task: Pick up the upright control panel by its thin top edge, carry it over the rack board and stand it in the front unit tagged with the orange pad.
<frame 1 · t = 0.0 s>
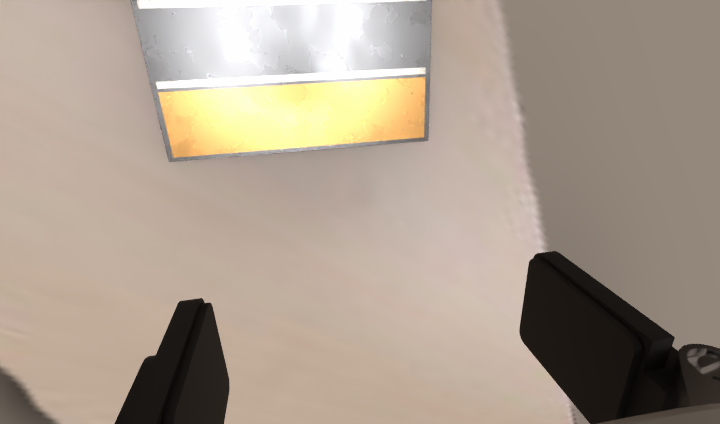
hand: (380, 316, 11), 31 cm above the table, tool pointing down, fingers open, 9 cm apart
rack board: (297, 76, 38), on the table
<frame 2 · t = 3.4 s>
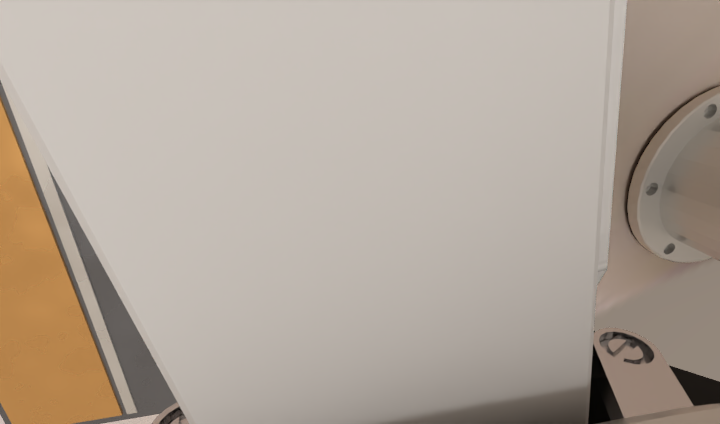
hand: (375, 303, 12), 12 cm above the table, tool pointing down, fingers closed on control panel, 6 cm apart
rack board: (78, 226, 21), on the table
control panel: (329, 183, 23), on the table, touching gripper
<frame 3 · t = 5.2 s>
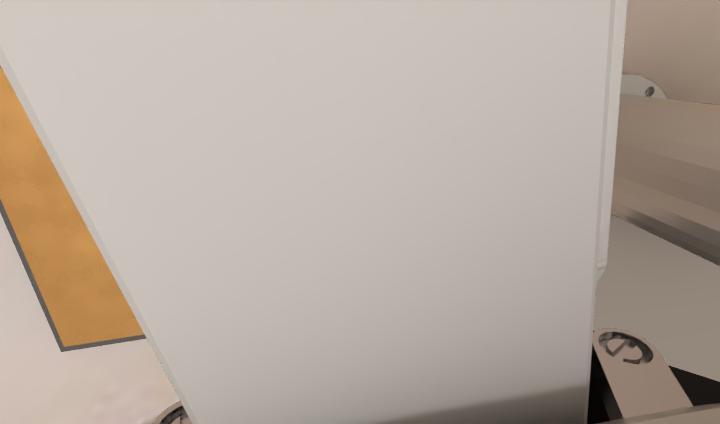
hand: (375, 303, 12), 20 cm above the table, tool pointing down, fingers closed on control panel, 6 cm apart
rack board: (115, 182, 28), on the table
control panel: (328, 183, 23), point 8 cm above the table, touching gripper
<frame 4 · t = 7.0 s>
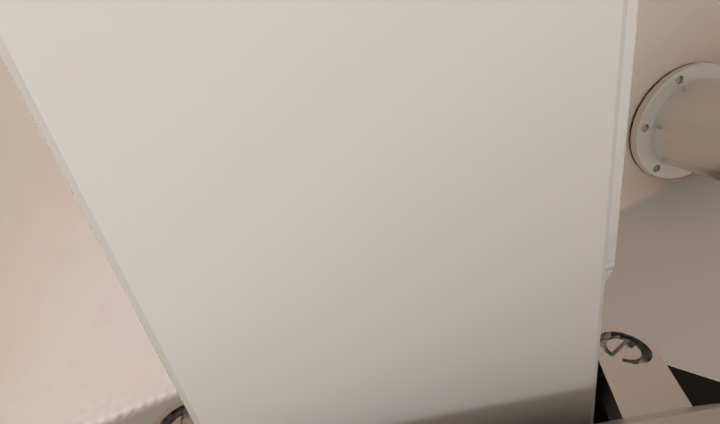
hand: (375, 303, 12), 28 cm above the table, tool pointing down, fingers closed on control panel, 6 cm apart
control panel: (328, 183, 23), point 16 cm above the table, touching gripper
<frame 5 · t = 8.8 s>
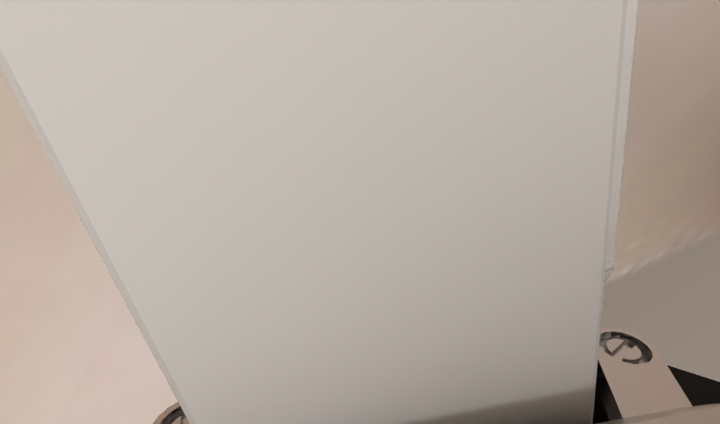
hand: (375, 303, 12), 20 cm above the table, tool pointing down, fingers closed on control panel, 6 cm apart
control panel: (327, 184, 23), point 8 cm above the table, touching gripper
when the fingers open (14 cm above the table, at t = 10.4 s): control panel stays where it is, resting on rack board.
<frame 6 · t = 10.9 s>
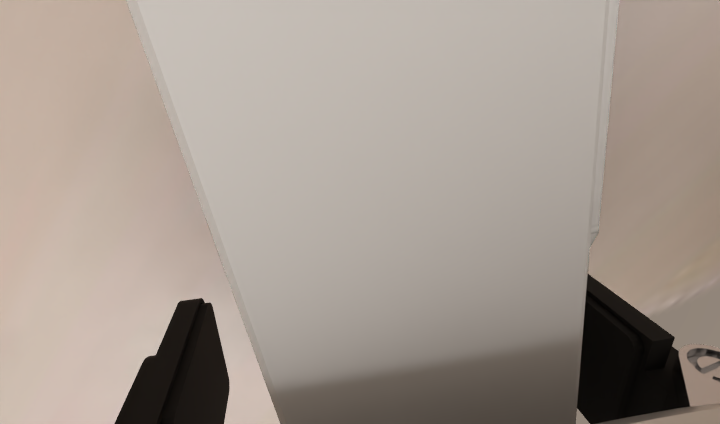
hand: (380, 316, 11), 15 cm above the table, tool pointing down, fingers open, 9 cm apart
control panel: (334, 177, 24), point 1 cm above the table, touching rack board
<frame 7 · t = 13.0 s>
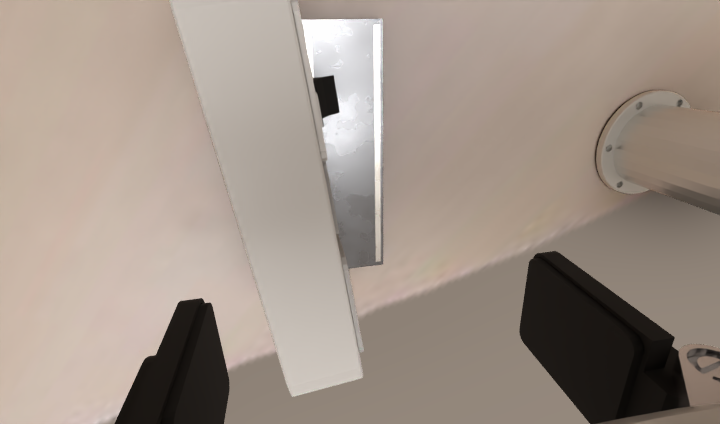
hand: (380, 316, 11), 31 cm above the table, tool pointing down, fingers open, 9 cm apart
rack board: (315, 158, 41), on the table
control panel: (283, 153, 39), point 1 cm above the table, touching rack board
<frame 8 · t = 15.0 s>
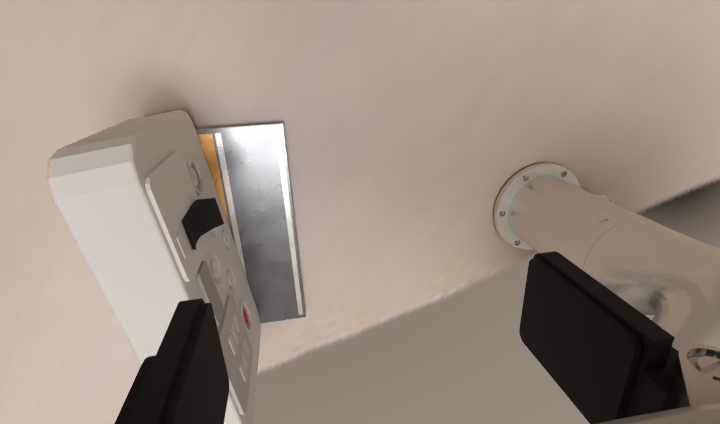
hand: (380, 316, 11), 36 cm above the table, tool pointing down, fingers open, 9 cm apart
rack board: (237, 232, 48), on the table
control panel: (207, 232, 46), point 1 cm above the table, touching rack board
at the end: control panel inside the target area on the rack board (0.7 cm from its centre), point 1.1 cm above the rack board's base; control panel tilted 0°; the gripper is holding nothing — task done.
